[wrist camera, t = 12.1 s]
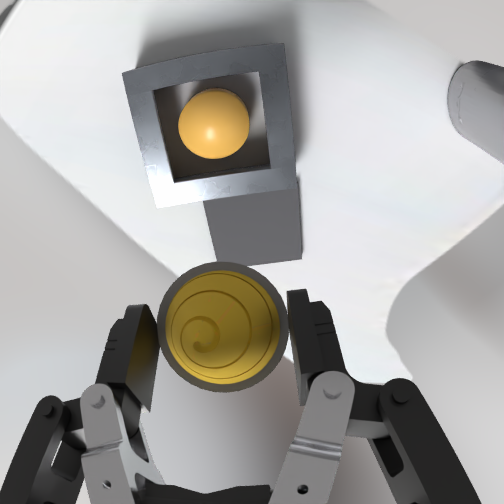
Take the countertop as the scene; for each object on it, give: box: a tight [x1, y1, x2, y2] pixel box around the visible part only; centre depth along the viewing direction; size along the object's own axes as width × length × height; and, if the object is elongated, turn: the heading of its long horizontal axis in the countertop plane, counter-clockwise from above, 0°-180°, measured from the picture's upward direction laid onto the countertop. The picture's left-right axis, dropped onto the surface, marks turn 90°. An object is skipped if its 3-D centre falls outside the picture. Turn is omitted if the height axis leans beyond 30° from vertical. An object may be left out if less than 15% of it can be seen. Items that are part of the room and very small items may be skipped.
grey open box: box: [122, 43, 297, 208], centre depth 25 cm, size 12×12×4 cm
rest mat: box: [203, 182, 302, 266], centre depth 33 cm, size 9×9×1 cm
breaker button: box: [178, 88, 250, 159], centre depth 25 cm, size 6×6×2 cm
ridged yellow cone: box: [157, 262, 289, 392], centre depth 11 cm, size 5×5×10 cm
